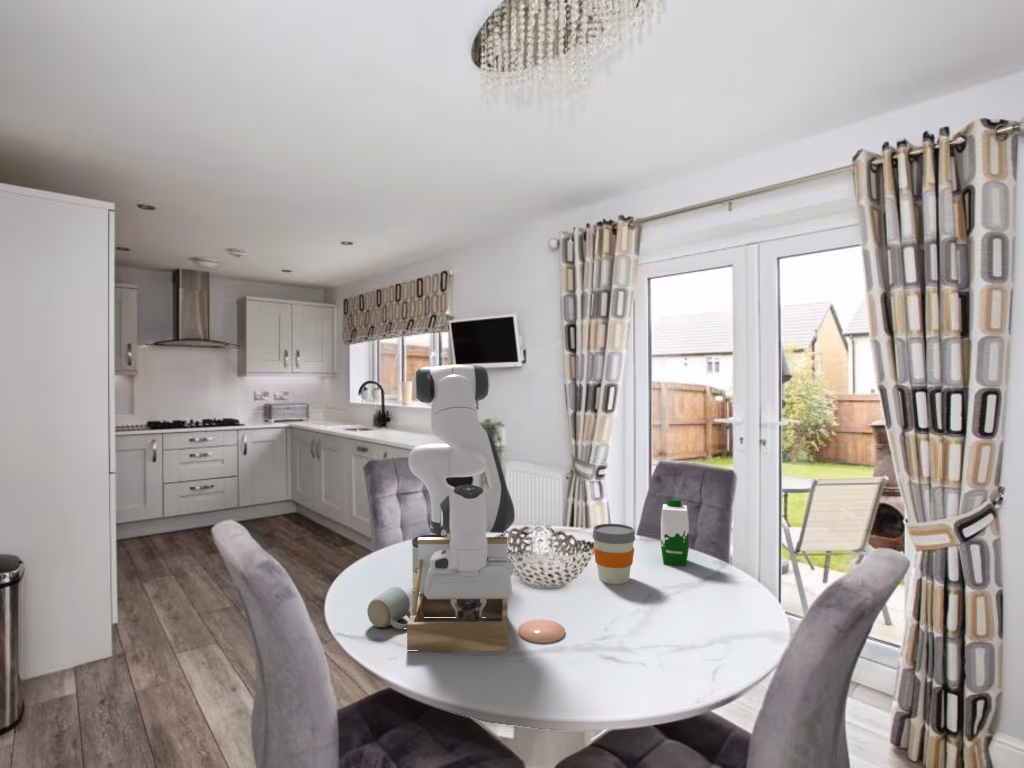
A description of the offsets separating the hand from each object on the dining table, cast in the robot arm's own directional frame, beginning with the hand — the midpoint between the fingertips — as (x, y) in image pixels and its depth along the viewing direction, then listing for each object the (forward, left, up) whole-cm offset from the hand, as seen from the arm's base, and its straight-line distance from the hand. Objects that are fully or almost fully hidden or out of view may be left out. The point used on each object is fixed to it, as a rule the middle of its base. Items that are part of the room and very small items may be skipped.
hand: (468, 616), depth 127 cm
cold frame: (-2, -2, -5) cm, 5 cm away
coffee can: (-30, -13, -5) cm, 33 cm away
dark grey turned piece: (0, 0, -5) cm, 5 cm away
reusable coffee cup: (-37, +41, -5) cm, 55 cm away
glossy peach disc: (-2, +17, -5) cm, 18 cm away
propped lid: (-4, -2, +1) cm, 5 cm away
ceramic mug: (-7, -19, -5) cm, 21 cm away
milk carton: (-52, +64, -5) cm, 83 cm away
